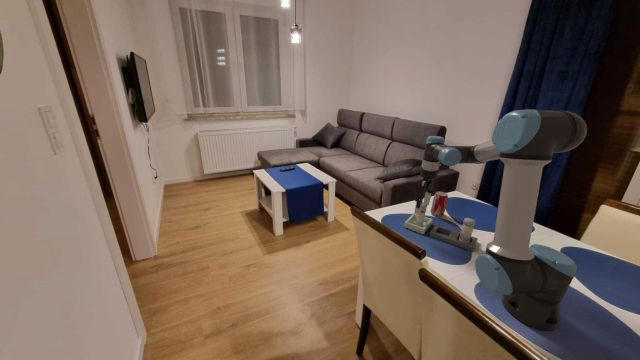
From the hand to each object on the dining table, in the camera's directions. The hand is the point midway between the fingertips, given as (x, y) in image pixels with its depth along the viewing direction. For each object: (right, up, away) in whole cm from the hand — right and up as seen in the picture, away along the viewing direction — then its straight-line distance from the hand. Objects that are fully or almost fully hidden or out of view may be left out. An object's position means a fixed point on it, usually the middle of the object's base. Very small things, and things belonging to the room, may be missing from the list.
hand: (421, 208), depth 130 cm
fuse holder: (+13, -14, -6) cm, 20 cm away
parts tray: (0, -9, +4) cm, 10 cm away
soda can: (+15, -5, +17) cm, 23 cm away
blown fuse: (0, -9, +4) cm, 9 cm away
